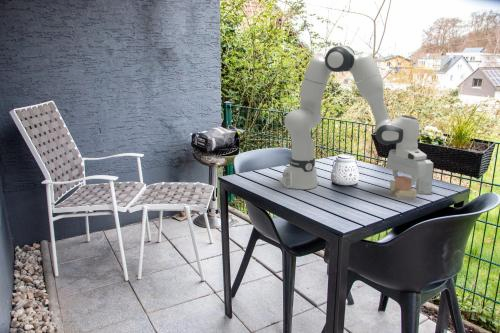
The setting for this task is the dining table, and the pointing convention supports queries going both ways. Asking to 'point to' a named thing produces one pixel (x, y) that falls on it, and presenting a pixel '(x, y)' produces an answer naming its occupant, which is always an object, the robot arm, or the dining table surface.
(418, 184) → the skincare box
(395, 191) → the beech base
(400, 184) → the terracotta cube
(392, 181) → the offwhite cube
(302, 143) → the robot arm
